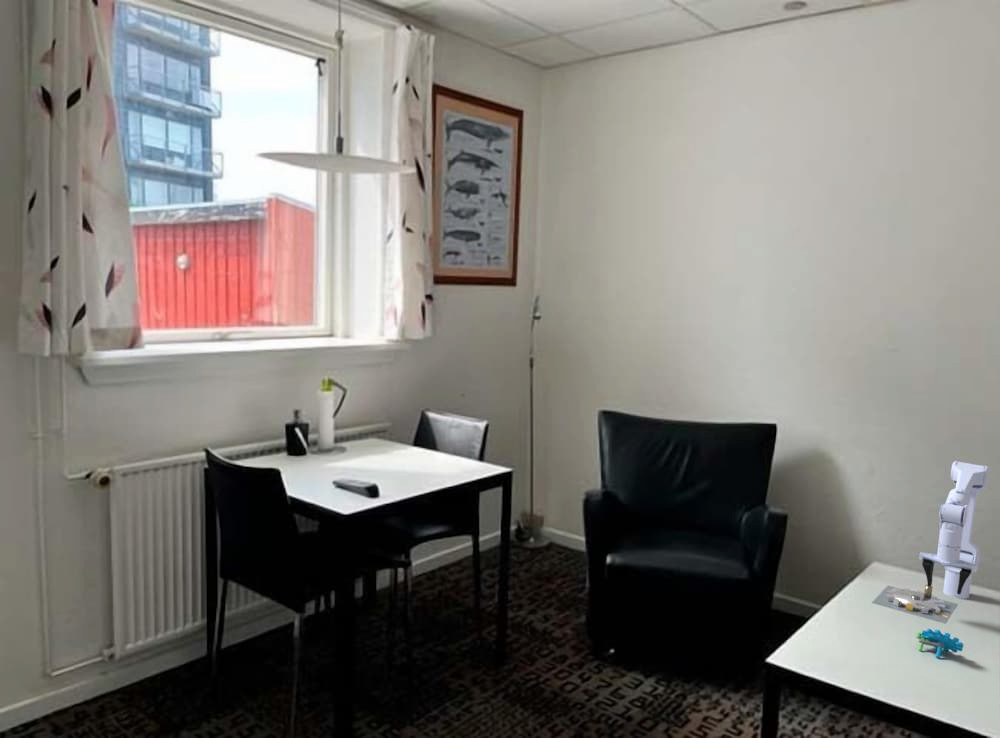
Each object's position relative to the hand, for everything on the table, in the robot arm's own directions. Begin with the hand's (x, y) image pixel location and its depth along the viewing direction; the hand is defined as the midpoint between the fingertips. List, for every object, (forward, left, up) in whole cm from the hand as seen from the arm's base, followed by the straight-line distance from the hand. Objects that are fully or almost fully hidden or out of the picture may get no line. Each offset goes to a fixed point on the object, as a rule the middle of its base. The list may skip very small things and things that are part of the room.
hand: (944, 589), depth 227 cm
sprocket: (-6, -8, -9) cm, 14 cm away
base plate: (-6, -8, -10) cm, 14 cm away
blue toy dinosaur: (+25, +4, -10) cm, 27 cm away
